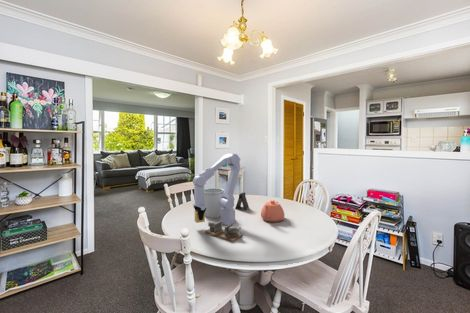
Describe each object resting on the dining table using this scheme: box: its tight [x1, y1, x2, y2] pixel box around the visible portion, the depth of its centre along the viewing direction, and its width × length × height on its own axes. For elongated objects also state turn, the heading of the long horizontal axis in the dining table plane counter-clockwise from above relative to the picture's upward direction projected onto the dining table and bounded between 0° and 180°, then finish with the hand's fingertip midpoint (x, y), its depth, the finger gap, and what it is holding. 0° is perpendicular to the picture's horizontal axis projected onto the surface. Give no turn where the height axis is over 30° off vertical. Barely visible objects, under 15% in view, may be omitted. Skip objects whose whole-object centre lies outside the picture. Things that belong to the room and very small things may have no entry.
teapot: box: [260, 199, 285, 223], centre depth 153 cm, size 22×16×12 cm
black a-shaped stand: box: [234, 192, 250, 211], centre depth 176 cm, size 9×6×12 cm, turn 64°
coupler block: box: [194, 210, 206, 224], centre depth 137 cm, size 5×4×6 cm
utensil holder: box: [204, 187, 225, 218], centre depth 162 cm, size 15×15×18 cm
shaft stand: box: [203, 220, 244, 243], centre depth 128 cm, size 20×9×6 cm, turn 55°
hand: (199, 218), depth 137 cm, fingers closed on coupler block, 4 cm apart
